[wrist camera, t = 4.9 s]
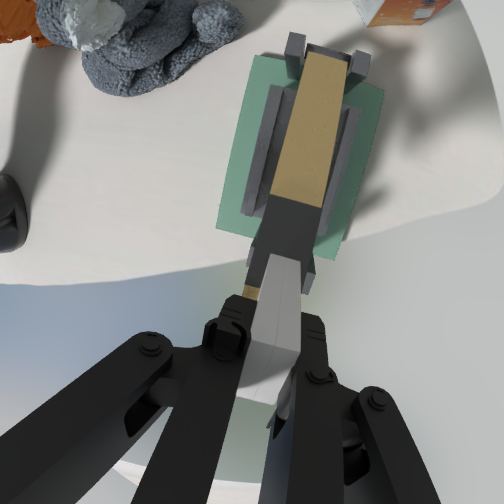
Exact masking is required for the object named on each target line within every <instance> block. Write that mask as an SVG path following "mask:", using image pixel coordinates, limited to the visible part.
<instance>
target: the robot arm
mask: <svg viewBox="0 0 504 504" xmlns="http://www.w3.org/2000/svg"><path fill="white" fill-rule="evenodd" d="M26 235H27V215H26V209H25V204H24V201H23V197H22V195H21V192H20V190H19V188H18V186H17V184H16V183H15V181H14V180H13V179H12V178H11V177H10V176H8V175H2V176H0V253H6V252H12V251H14V250H16V249H18V248H20V247H21V246H22V245H23V244H24V242H25V239H26ZM324 326H325V325H324V323H323V322H322V320H321V319H320V317H319V316H316V315H312V314H308V313H304V312H301V269H300V261H296V260H293V259H289V258H286V257H282V256H279V255H275V254H271V253H270V257H269V260H268V264H267V267H266V271H265V274H264V278H263V281H262V285H261V288H260V292H259V295H258V298H257V301H256V300H253V299H249V298H246V297H242V296H239V295H235V294H234V295H232V296H231V297H229V298H227V299H226V301H225V303H224V305H223V308H222V309H221V312H220V314H219V316H218V318H214V319H212V320H209V322H208V323H207V324H206V325H205V328H204V334H203V340H202V345H200V346H197V347H193V348H181V347H173V345H172V343H171V341H170V340H169V339H168V338H166V337H165V336H164V335H162V334H159V333H157V332H150V331H147V332H140V333H138V334H136V335H134V336H132V337H131V338H130V339H128V340H127V341H126V342H125V343H123V344H122V345H121V346H119V347H118V348H117V349H115V350H114V351H113V352H111V353H110V354H109V355H107V356H106V357H105V358H103V359H102V360H101V361H99V362H98V363H97V364H95V365H94V366H93V367H91V368H90V369H89V370H87V371H86V372H85V373H83V374H82V375H81V376H79V377H78V378H77V379H75V380H74V381H73V382H71V383H70V384H69V385H67V386H66V387H65V388H63V389H62V390H61V391H59V392H58V393H57V394H56V395H54V396H53V397H52V398H50V399H49V400H48V401H46V402H45V403H44V404H42V405H41V406H40V407H39V408H37V409H36V410H35V411H33V412H32V413H31V414H29V415H28V416H27V417H25V418H24V419H23V420H21V421H20V422H19V423H17V424H16V425H15V426H14V427H12V428H11V429H9V430H8V431H7V432H6V433H4V434H3V435H2V436H0V504H75V503H76V502H77V501H78V500H80V499H81V498H82V497H83V496H84V495H85V494H86V493H87V492H88V491H89V490H90V489H91V488H92V487H93V486H94V485H95V484H96V483H97V482H98V481H99V480H100V479H101V478H102V477H103V476H104V475H105V474H106V473H107V472H108V471H109V470H110V468H112V467H113V466H114V465H115V464H116V463H117V461H118V460H119V459H120V458H121V457H122V456H123V455H124V454H125V453H126V452H127V451H128V450H129V449H130V448H131V447H132V446H133V445H134V444H135V443H136V441H137V440H138V439H139V438H140V437H141V436H142V435H143V434H144V433H145V432H146V431H147V430H148V429H149V427H150V426H151V425H152V424H153V423H154V422H155V421H156V420H157V419H158V418H159V417H160V415H161V414H162V413H163V412H164V411H165V410H166V409H167V408H168V407H173V410H172V412H171V415H170V416H169V419H168V421H167V423H166V425H165V428H164V430H163V432H162V434H161V436H160V439H159V441H158V443H157V445H156V447H155V450H154V452H153V454H152V457H151V459H150V461H149V463H148V465H147V468H146V470H145V472H144V474H143V477H142V479H141V481H140V483H139V486H138V488H137V490H136V493H135V495H134V497H133V499H132V502H131V504H206V503H207V499H208V496H209V492H210V489H211V485H212V482H213V478H214V474H215V471H216V467H217V464H218V460H219V457H220V453H221V449H222V445H223V442H224V438H225V434H226V431H227V427H228V423H229V419H230V415H231V412H232V408H233V404H234V401H235V397H236V396H239V397H243V398H247V399H251V400H254V401H258V402H263V403H267V404H272V405H274V404H275V402H276V400H277V398H278V402H277V409H276V410H275V412H274V414H273V416H272V417H271V419H270V421H269V423H268V425H267V427H266V428H270V426H271V429H270V436H269V442H268V449H267V455H266V461H265V468H264V473H263V479H262V484H261V490H260V495H259V501H258V504H441V502H440V500H439V498H438V495H437V492H436V490H435V488H434V485H433V483H432V480H431V478H430V476H429V473H428V471H427V469H426V467H425V464H424V462H423V460H422V458H421V455H420V453H419V451H418V449H417V447H416V445H415V442H414V440H413V438H412V436H411V434H410V432H409V430H408V428H407V426H406V424H405V421H404V420H403V417H402V416H401V413H400V411H399V410H398V407H397V406H396V403H395V401H394V400H393V398H392V397H391V395H390V394H389V393H388V392H386V391H385V390H384V389H381V388H379V387H375V386H369V387H365V388H364V389H363V390H362V391H360V393H358V392H356V391H354V390H351V389H349V388H347V387H344V386H343V385H341V384H339V383H338V379H337V376H336V373H335V372H334V371H333V370H332V369H331V368H330V367H329V365H328V354H327V344H326V335H325V327H324Z"/></svg>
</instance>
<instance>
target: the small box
mask: <svg viewBox="0 0 504 504" xmlns="http://www.w3.org/2000/svg"><path fill="white" fill-rule="evenodd" d="M353 1H354V3H355V5H356V7H357V9H358V11H359V13H360V15H361V17H362V19H363V21H364V23H365V25H366V27H373V26H383V25H422V24H423V23H424V22H425V21H427V20H428V19H429V18H430V17H432V16H433V15H434V14H436V13H437V12H438V11H439V10H441V9H442V8H443V7H445V6H446V5H447V4H449V3H450V2H451V1H453V0H353Z"/></svg>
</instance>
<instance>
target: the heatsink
mask: <svg viewBox="0 0 504 504" xmlns="http://www.w3.org/2000/svg"><path fill="white" fill-rule="evenodd" d="M305 40H306V35H303V34H298V33H293V32H290V33H289V37H288V41H287V45H286V48H285V52H284V55H285V63H286V70H287V78H288V79H292V80H297V81H299V79H300V75H301V71H302V67H303V61H304V51H305ZM370 59H371V55H370V54H367V53H365V52H362V51H359V50H355V52H354V53H353V55H352V57H351V63H350V66H349V69H348V71H347V72H346V79H345V85H344V92H343V94H348V93H349V92H350V91H351V90H352V89H353V88H354V87H356V86H357V85H358V84H359V83H360V82H361V81H362V80H364V79H365V78H366V77H367V74H368V69H369V64H370ZM297 91H298V90H295V89H290V88H286V87H282V86H277V85H272V84H270V88H269V92H268V96H267V100H266V104H265V108H264V112H263V116H262V120H261V125H260V129H259V133H258V137H257V141H256V145H255V150H254V154H253V158H252V162H251V167H250V171H249V175H248V180H247V184H246V188H245V193H244V197H243V202H242V206H241V210H240V213H242V214H245V216H249V217H252V216H254V217H258V218H261V219H262V218H263V215H264V211H265V207H266V204H267V200H268V196H269V194H270V191H271V187H272V184H273V180H274V176H275V172H276V169H277V165H278V161H279V158H280V154H281V150H282V147H283V143H284V139H285V136H286V132H287V128H288V125H289V121H290V117H291V114H292V110H293V106H294V102H295V99H296V95H297ZM360 113H361V109H359V108H356V107H353V106H350V105H347V104H344V103H342V105H341V111H340V116H339V122H338V128H337V133H336V139H335V144H334V149H333V155H332V160H331V165H330V169H329V174H328V179H327V184H326V188H325V193H324V198H323V202H322V206H321V208H323V210H322V214H321V218H320V223H319V227H318V231H317V235H318V236H321V235H323V236H325V234H326V231H327V228H328V225H329V222H330V218H331V215H332V212H333V209H334V206H335V203H336V199H337V196H338V193H339V190H340V186H341V183H342V180H343V176H344V173H345V169H346V166H347V162H348V159H349V155H350V151H351V148H352V144H353V140H354V136H355V133H356V129H357V125H358V121H359V117H360ZM260 226H261V223H260V225H259V228H258V230H257V232H256V235H255V237H254V240H253V242H252V244H251V247H250V251H249V255H248V259H247V263H246V266H247V267H249V266H250V262H251V259H252V255H253V251H254V248H255V244H256V240H257V237H258V233H259V229H260ZM315 275H316V273H315V265H314V258H313V251H312V255H311V259H310V263H309V267H308V271H307V275H306V278H305V282H304V286H303V289H302V294H306V295H308V294H309V291H310V288H311V286H312V283H313V280H314V278H315Z"/></svg>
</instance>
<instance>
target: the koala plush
mask: <svg viewBox="0 0 504 504" xmlns="http://www.w3.org/2000/svg"><path fill="white" fill-rule="evenodd" d="M33 1H35V2H37V7H36V8H37V9H36V14H35V15H36V19H37V21H36V23H37V24H38V26H39V27H40V28H39V29H40V30H41V32H42V34H43V35H44V37H46V39H48V40H49V41H50V42H51V43H55V44H57V45H61V46H64V47H67V48H71V49H76V50H78V51H80V50H82V51H83V52H82V58H81V59H82V66H83V68H84V71H85V73H86V74H87V75H88V78H89V79H90V80H91V82H92V84H93V86H94V87H95V88H98V90H100V91H103V92H105V93H107V94H110V95H115V96H122V97H134V96H137V95H141V94H144V93H148V92H150V91H152V90H153V89H155V88H161V87H163V86H165V85H166V84H167V83H168V84H169V83H170V82H171V80H172V81H173V80H175V78H176V77H178V74H179V73H180V72H181V71H182V70H183V69H185V68H186V67H187V66H188V65H189V63H190V62H192V61H193V60H195V59H198V58H199V57H202V56H204V55H206V54H209V52H213V50H215V49H216V48H219V47H220V46H223V45H225V44H226V43H228V42H230V41H231V40H232V39H233V38H234V37H235V36H236V35H238V33H239V31H240V29H239V27H241V26H242V25H244V21H245V20H244V18H243V17H244V16H242V14H241V13H240V12H239V11H238V9H237V8H235V7H234V6H232V5H231V4H229V3H227V2H224V1H220V0H214V1H209V2H208V3H204V4H202V5H200V6H198V2H197V1H196V0H33Z"/></svg>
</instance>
